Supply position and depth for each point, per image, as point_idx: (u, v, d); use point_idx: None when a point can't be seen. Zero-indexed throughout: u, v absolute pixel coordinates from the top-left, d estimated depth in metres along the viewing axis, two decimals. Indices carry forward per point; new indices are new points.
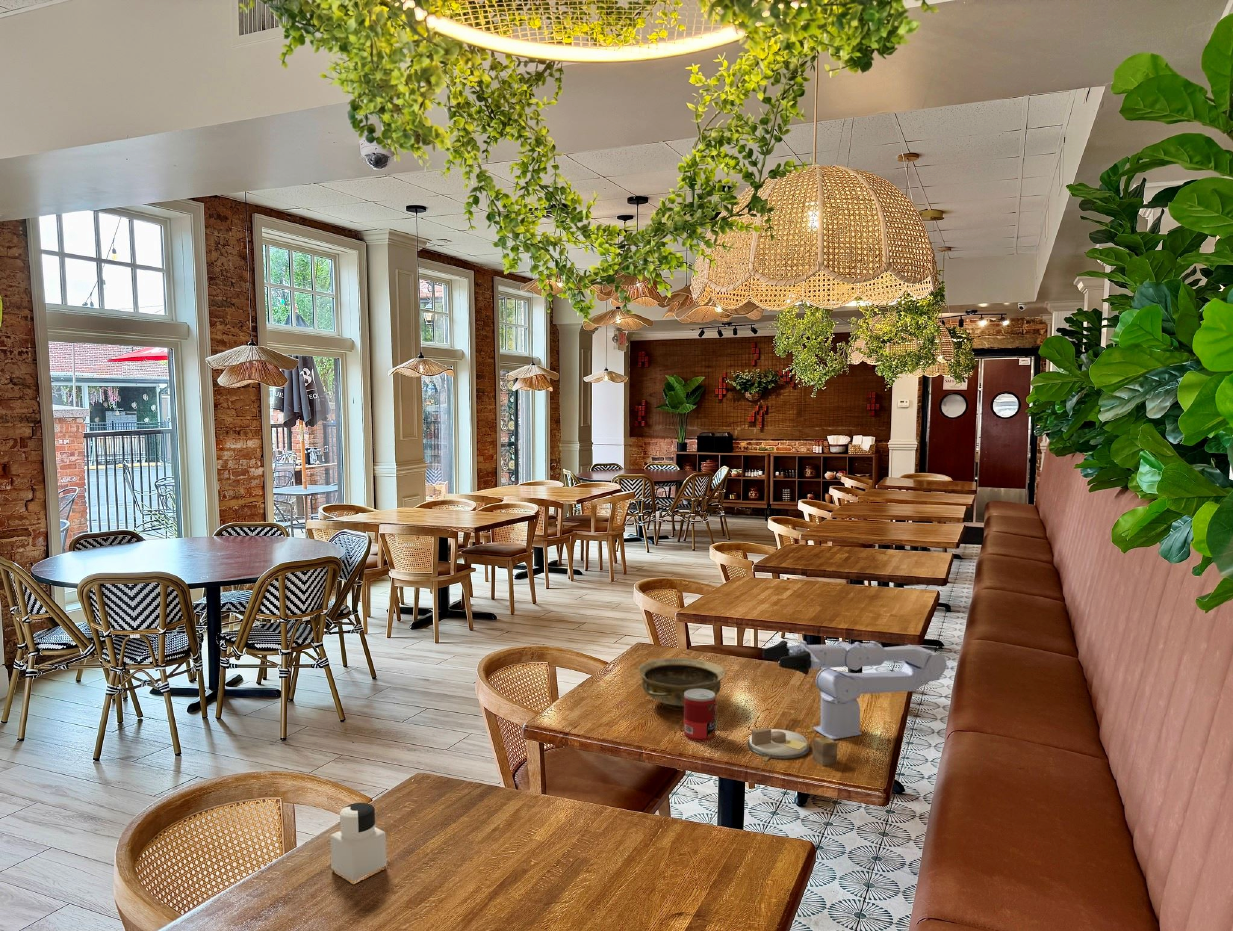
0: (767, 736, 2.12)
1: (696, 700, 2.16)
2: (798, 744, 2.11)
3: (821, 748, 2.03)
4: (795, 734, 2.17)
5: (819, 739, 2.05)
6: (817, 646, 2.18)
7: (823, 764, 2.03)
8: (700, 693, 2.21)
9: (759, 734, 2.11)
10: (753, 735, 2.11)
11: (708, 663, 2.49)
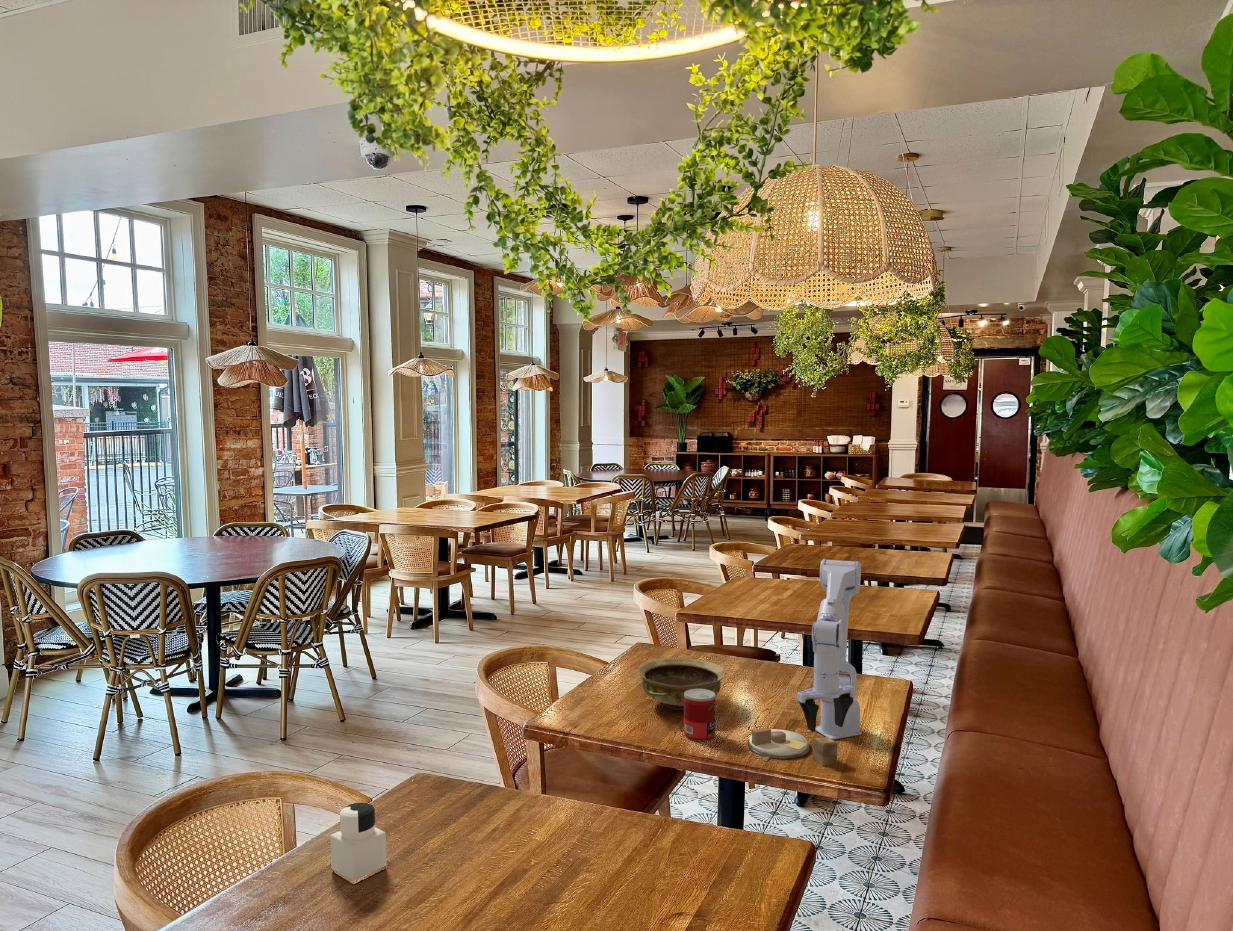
0: (767, 736, 2.12)
1: (696, 700, 2.16)
2: (798, 744, 2.11)
3: (821, 748, 2.03)
4: (795, 734, 2.17)
5: (819, 739, 2.05)
6: (835, 678, 2.01)
7: (823, 764, 2.03)
8: (700, 693, 2.21)
9: (759, 734, 2.11)
10: (753, 735, 2.11)
11: (708, 663, 2.49)
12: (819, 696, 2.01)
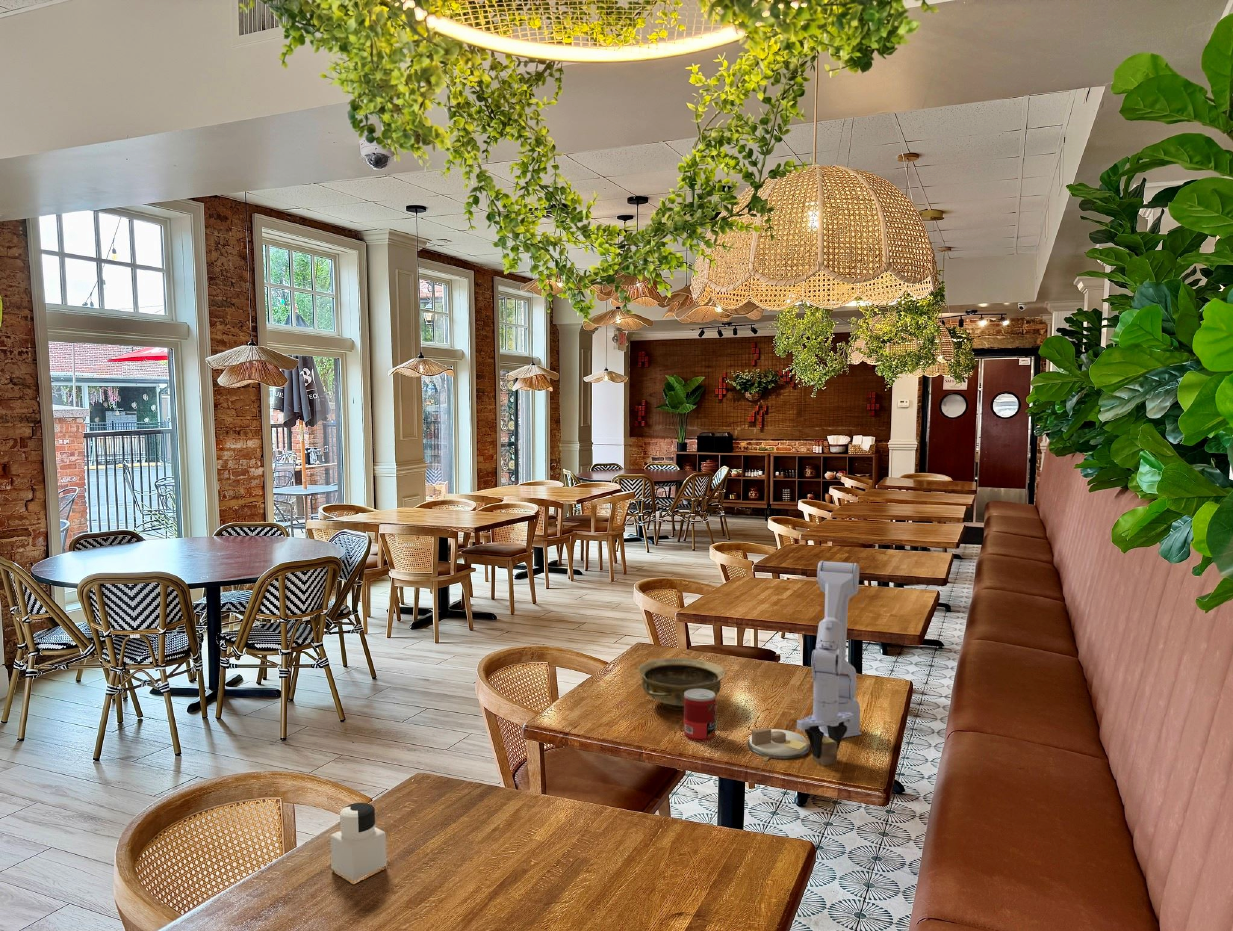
0: (767, 736, 2.12)
1: (696, 700, 2.16)
2: (798, 744, 2.11)
3: (821, 748, 2.03)
4: (795, 734, 2.17)
5: None
6: (834, 706, 2.02)
7: (823, 764, 2.03)
8: (700, 693, 2.21)
9: (759, 734, 2.11)
10: (753, 735, 2.11)
11: (708, 663, 2.49)
12: (818, 724, 2.01)
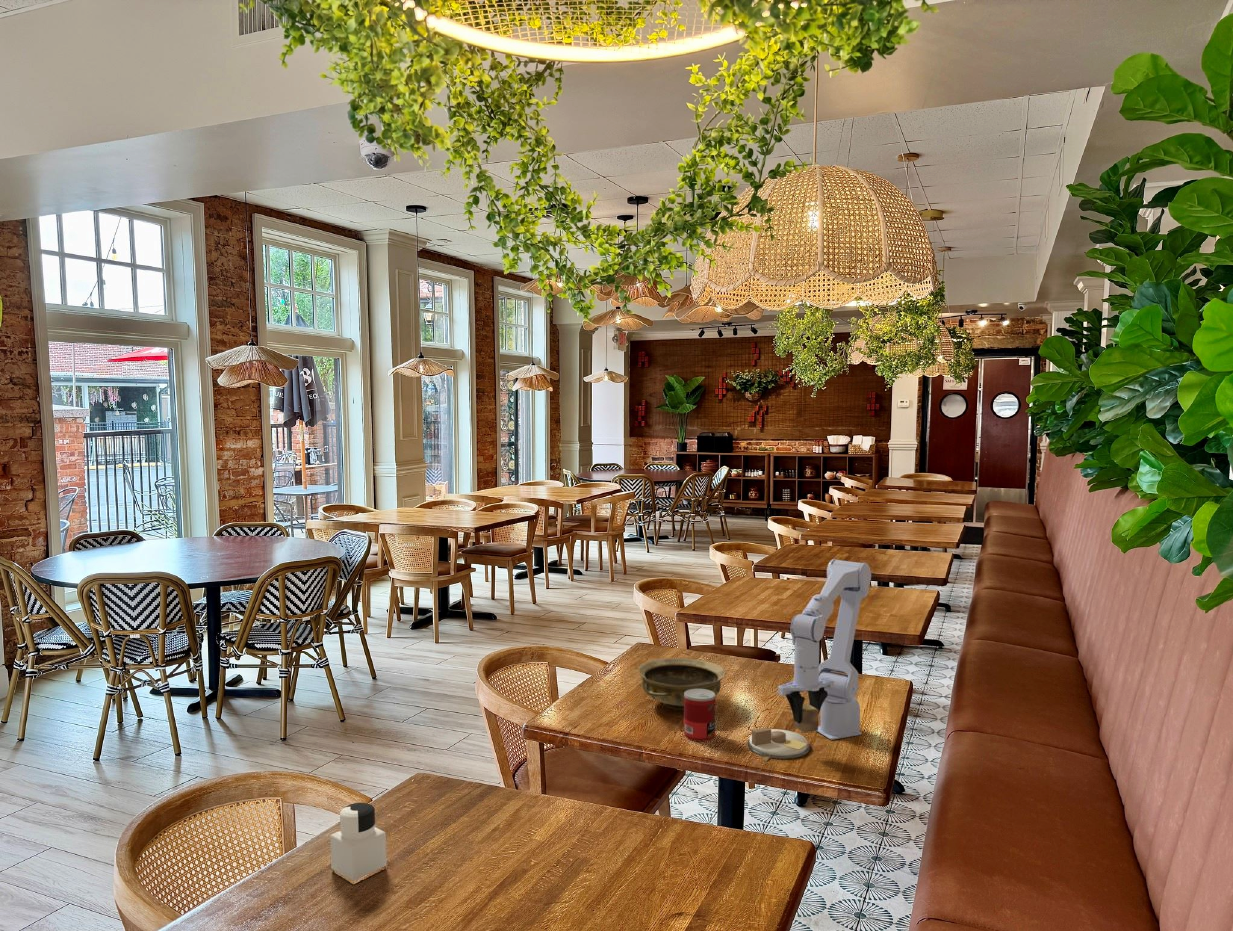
0: (767, 736, 2.12)
1: (696, 700, 2.16)
2: (798, 744, 2.11)
3: (803, 715, 2.06)
4: (795, 734, 2.17)
5: None
6: (815, 671, 2.05)
7: (804, 731, 2.06)
8: (700, 693, 2.21)
9: (759, 734, 2.11)
10: (753, 735, 2.11)
11: (708, 663, 2.49)
12: (799, 689, 2.05)
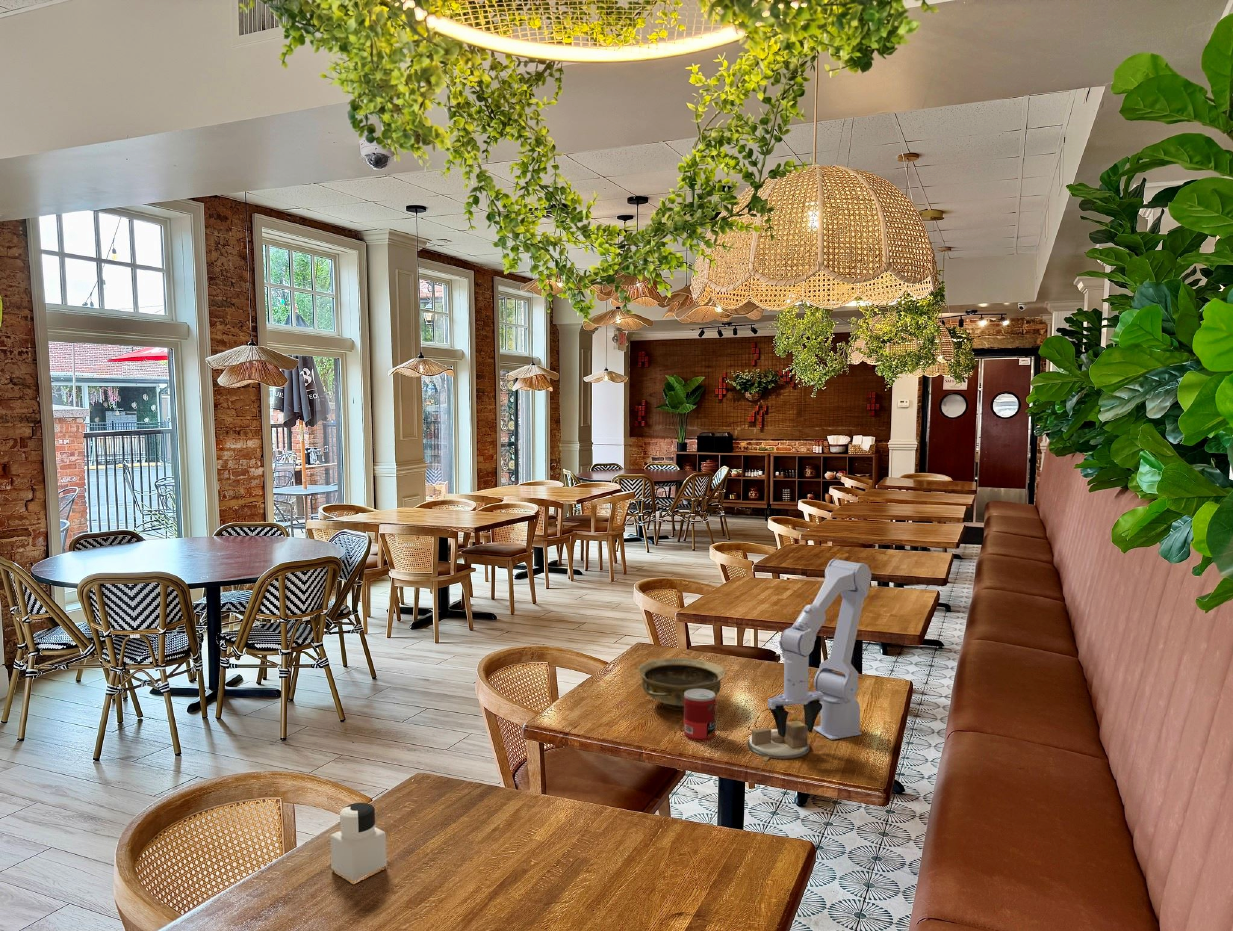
0: (767, 736, 2.12)
1: (696, 700, 2.16)
2: None
3: (792, 731, 2.08)
4: None
5: (790, 723, 2.11)
6: (804, 685, 2.07)
7: (794, 747, 2.08)
8: (700, 693, 2.21)
9: (759, 734, 2.11)
10: (753, 735, 2.11)
11: (708, 663, 2.49)
12: (789, 702, 2.07)
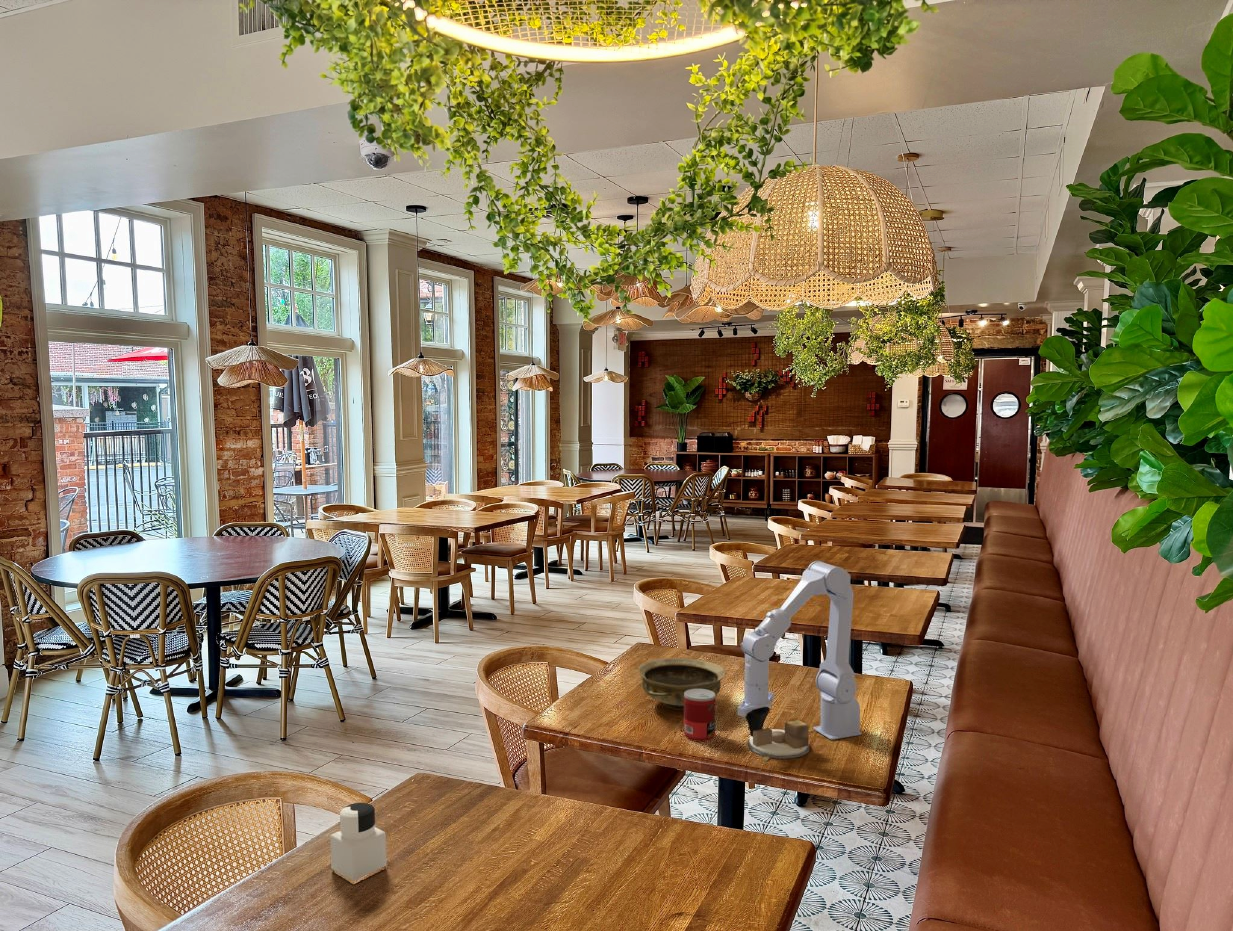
0: (768, 737, 2.11)
1: (696, 700, 2.16)
2: None
3: (793, 731, 2.09)
4: None
5: (791, 722, 2.11)
6: (767, 687, 2.12)
7: (796, 746, 2.09)
8: (700, 693, 2.21)
9: (760, 735, 2.10)
10: (754, 736, 2.11)
11: (708, 663, 2.49)
12: (757, 707, 2.09)
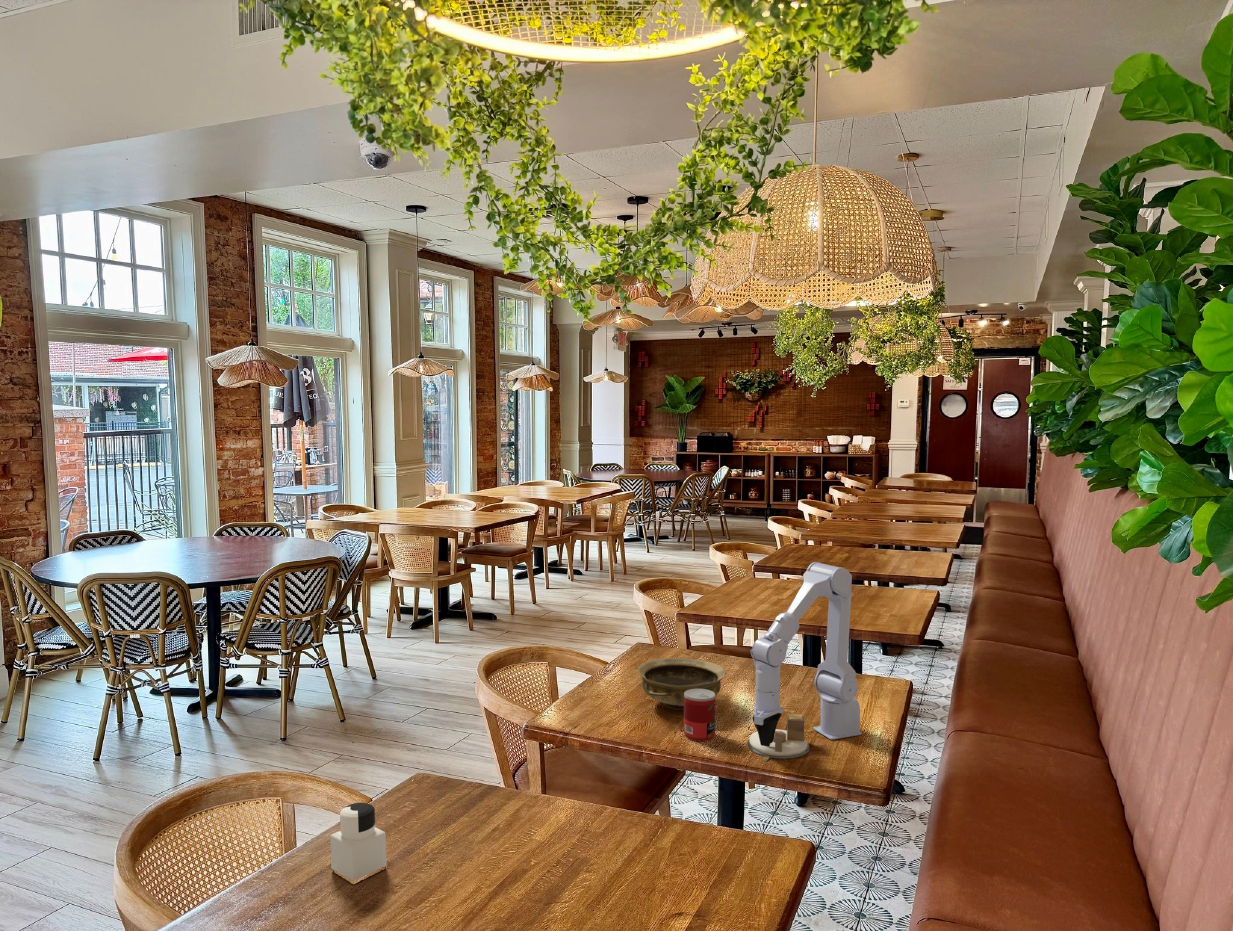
0: None
1: (696, 700, 2.16)
2: None
3: (802, 724, 2.13)
4: None
5: (792, 718, 2.14)
6: (779, 693, 2.08)
7: (803, 739, 2.13)
8: (700, 693, 2.21)
9: None
10: (778, 742, 2.07)
11: (708, 663, 2.49)
12: (771, 714, 2.05)
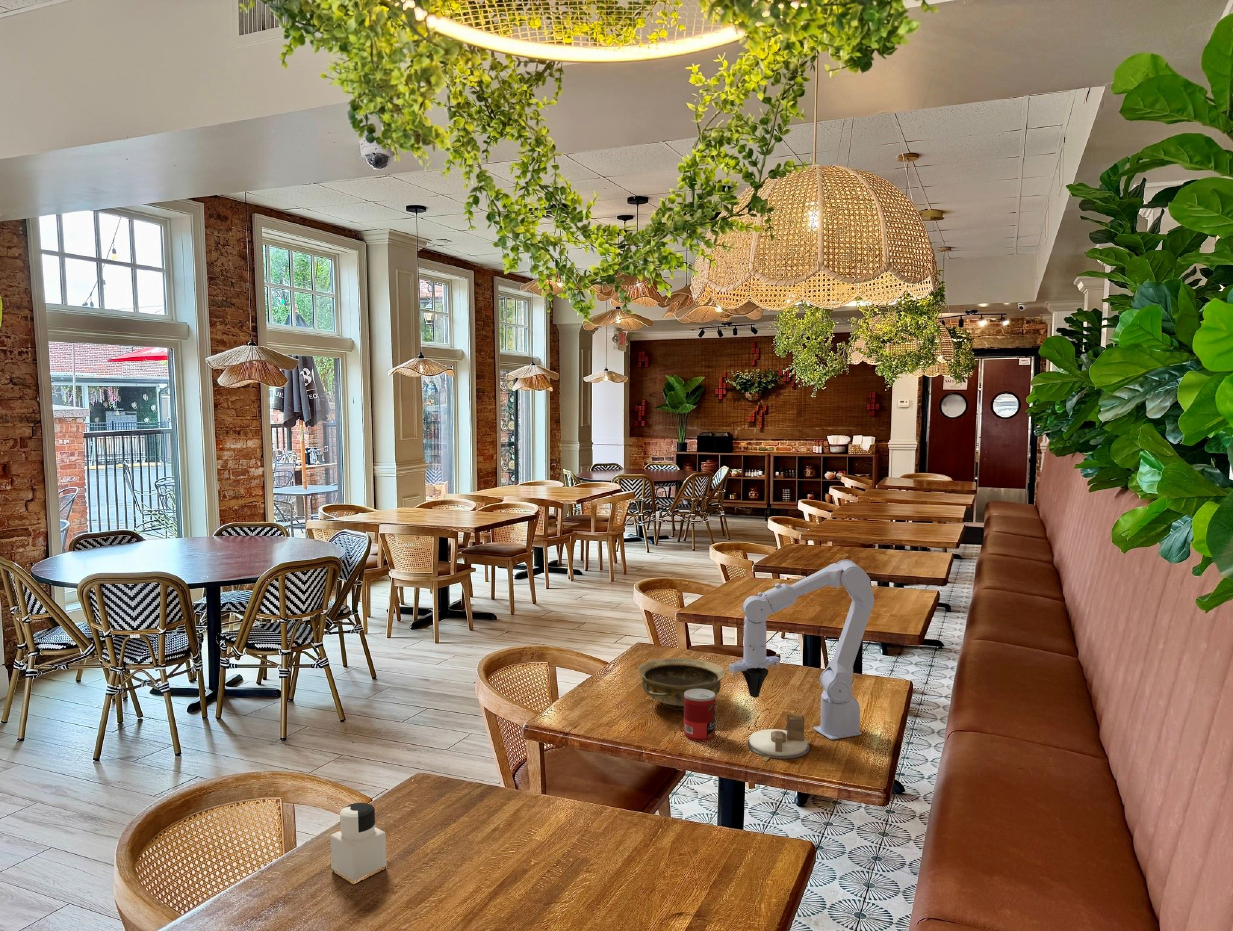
0: None
1: (696, 700, 2.16)
2: None
3: (802, 724, 2.13)
4: (771, 730, 2.20)
5: (792, 718, 2.14)
6: (763, 649, 2.19)
7: (803, 739, 2.13)
8: (700, 693, 2.21)
9: None
10: (778, 742, 2.07)
11: (708, 663, 2.49)
12: (749, 667, 2.18)
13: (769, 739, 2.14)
